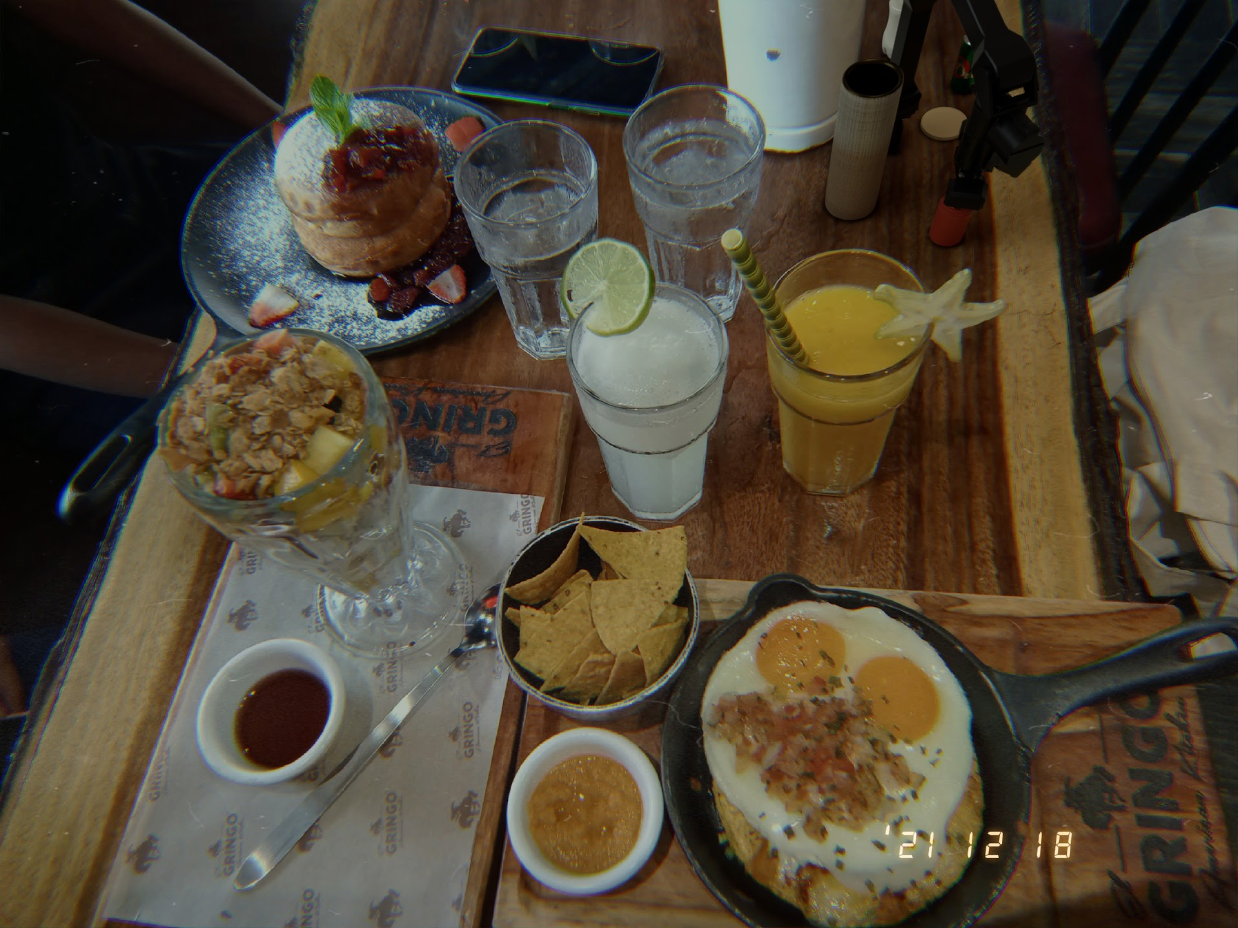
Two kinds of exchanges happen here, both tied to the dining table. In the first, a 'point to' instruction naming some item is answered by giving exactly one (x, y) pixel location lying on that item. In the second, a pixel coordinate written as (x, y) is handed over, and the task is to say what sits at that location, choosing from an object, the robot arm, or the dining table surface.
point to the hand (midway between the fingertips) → (958, 200)
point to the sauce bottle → (949, 224)
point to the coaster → (942, 123)
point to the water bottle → (891, 26)
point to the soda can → (963, 69)
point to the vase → (862, 136)
